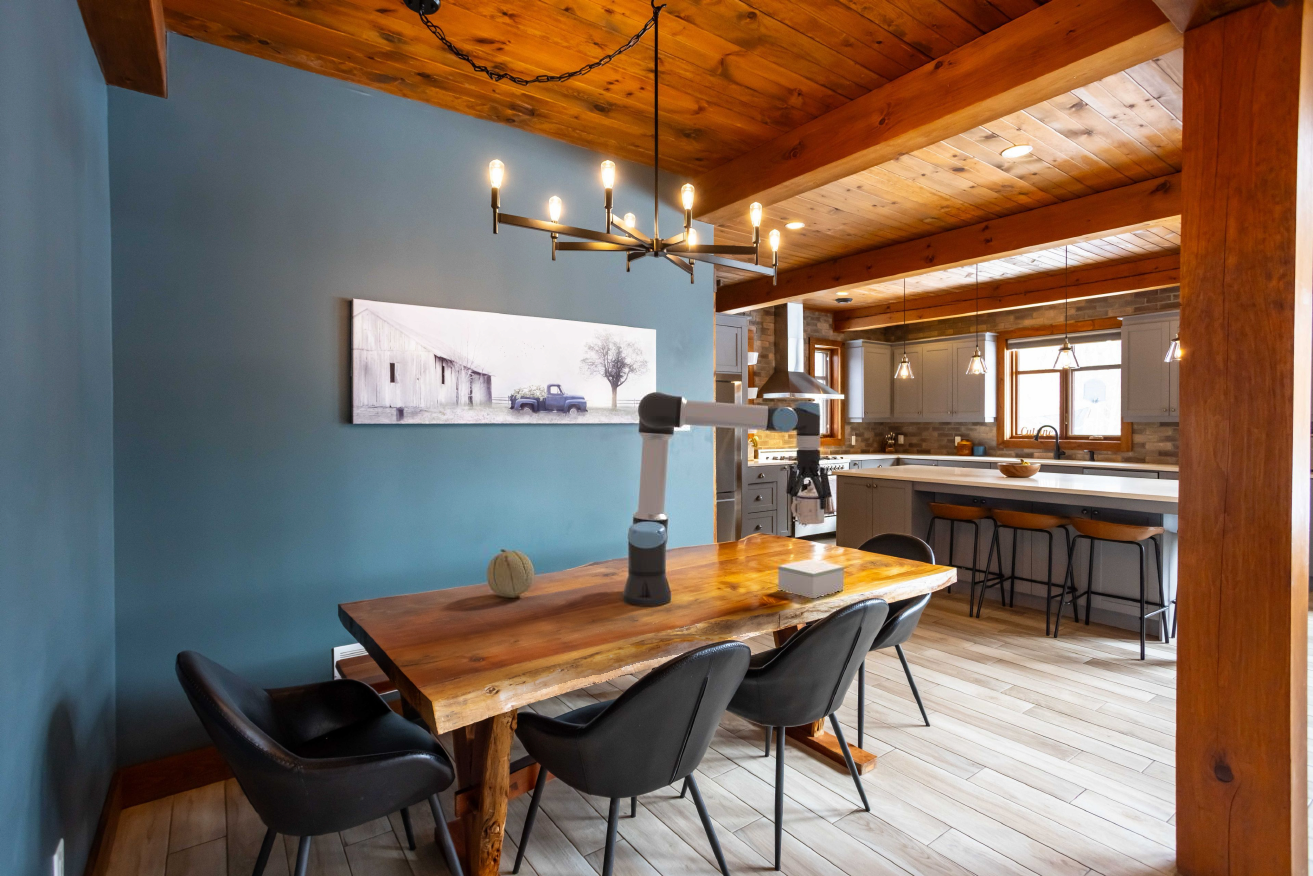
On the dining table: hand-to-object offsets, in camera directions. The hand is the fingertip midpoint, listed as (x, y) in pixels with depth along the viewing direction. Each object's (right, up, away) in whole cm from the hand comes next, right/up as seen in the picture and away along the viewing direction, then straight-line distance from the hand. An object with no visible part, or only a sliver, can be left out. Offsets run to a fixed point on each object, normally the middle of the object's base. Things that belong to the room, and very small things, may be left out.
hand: (808, 517), depth 216 cm
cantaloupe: (-96, -24, -7) cm, 99 cm away
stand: (+1, -24, +1) cm, 24 cm away
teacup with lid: (0, -2, 0) cm, 2 cm away
